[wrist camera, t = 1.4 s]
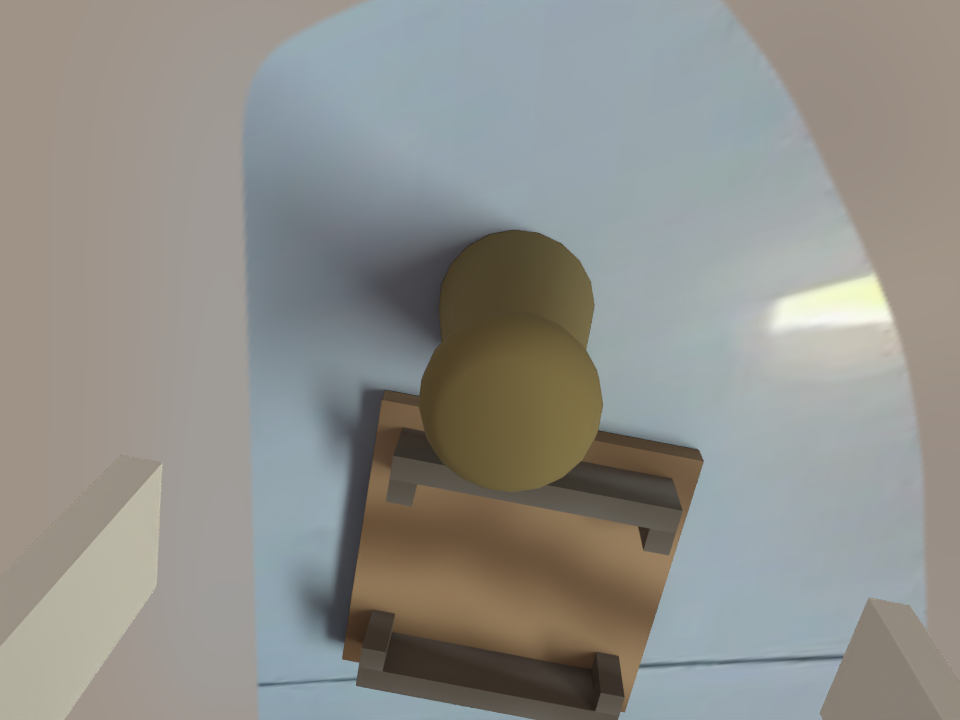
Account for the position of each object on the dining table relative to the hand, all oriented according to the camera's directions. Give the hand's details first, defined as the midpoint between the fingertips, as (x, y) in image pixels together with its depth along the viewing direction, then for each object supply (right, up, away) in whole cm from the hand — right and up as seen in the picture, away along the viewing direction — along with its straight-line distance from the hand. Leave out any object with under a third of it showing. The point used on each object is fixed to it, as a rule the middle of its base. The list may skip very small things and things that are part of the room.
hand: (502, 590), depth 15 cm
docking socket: (+1, -4, +21) cm, 21 cm away
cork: (+1, +6, +17) cm, 18 cm away
